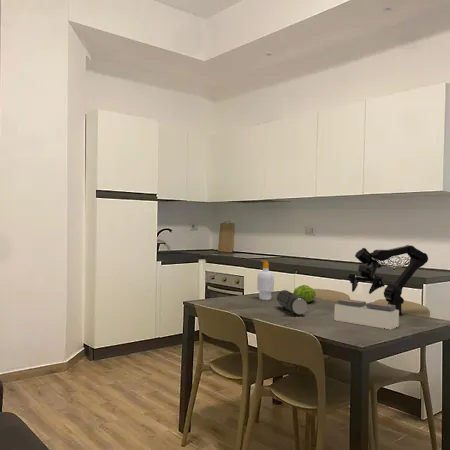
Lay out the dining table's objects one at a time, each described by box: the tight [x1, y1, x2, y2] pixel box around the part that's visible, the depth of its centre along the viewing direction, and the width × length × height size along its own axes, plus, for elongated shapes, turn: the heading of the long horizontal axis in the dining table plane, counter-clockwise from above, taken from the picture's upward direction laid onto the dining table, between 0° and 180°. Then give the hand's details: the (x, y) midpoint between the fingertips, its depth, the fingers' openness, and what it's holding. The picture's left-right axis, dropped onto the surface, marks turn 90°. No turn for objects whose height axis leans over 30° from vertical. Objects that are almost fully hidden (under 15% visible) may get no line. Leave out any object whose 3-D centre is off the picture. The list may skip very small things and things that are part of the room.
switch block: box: [333, 303, 400, 331], centre depth 232 cm, size 9×29×8 cm, turn 47°
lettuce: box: [292, 284, 317, 303], centre depth 297 cm, size 12×24×13 cm
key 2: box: [366, 301, 396, 311], centre depth 227 cm, size 6×12×2 cm, turn 47°
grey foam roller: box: [276, 289, 308, 316], centre depth 260 cm, size 10×28×10 cm, turn 10°
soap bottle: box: [256, 260, 275, 301], centre depth 301 cm, size 10×10×24 cm
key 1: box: [337, 298, 367, 307], centre depth 237 cm, size 6×12×2 cm, turn 48°
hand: (360, 292), depth 244 cm, fingers open, 9 cm apart
